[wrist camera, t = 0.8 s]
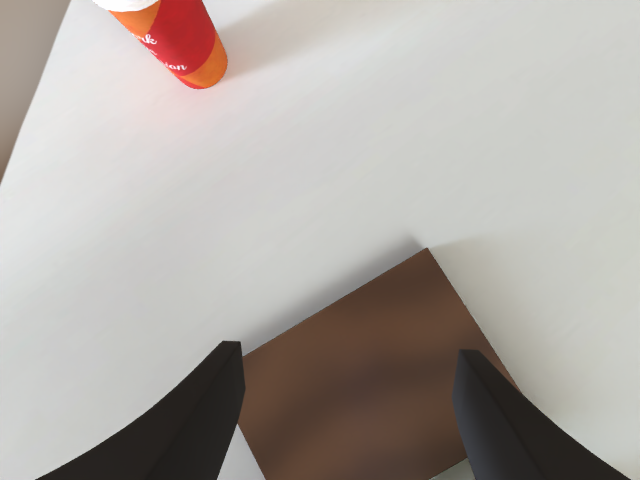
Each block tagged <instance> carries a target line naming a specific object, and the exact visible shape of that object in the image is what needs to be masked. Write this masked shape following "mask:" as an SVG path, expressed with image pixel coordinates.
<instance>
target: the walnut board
mask: <svg viewBox="0 0 640 480" xmlns="http://www.w3.org/2000/svg"><path fill="white" fill-rule="evenodd" d="M459 349H473V350H479V351H480V352H481V353H482V354H483V355H484V356H485V357H486V358H487V359H488V360H489V361H490V362H491V363H492V364H493V365H494V366H495V367H496V368H497V369H498V370H499V371H500V372H501V373H502V374H503V376H504V377H505V378H506V379H507V380H508V381H509V382H510V383H511V384H512V385H513V386H514V387H515V388H516V389H517V390H518V391H519V392H521V391H520V390H519V388H518V387H517V385H516V384H515V382H514V380H513V379H512V377H511V376H510V374H509V373H508V371H507V370H506V368H505V367H504V365H503V364H502V362H501V360H500V359H499V357H498V356H497V354H496V353H495V351H494V350H493V348H492V347H491V345H490V343H489V342H488V340H487V339H486V337H485V336H484V334H483V333H482V331H481V330H480V328H479V326H478V325H477V323H476V322H475V320H474V319H473V317H472V316H471V314H470V313H469V311H468V309H467V308H466V306H465V305H464V303H463V302H462V300H461V299H460V297H459V296H458V294H457V293H456V291H455V289H454V288H453V286H452V285H451V283H450V282H449V280H448V279H447V277H446V276H445V274H444V272H443V271H442V269H441V268H440V266H439V265H438V263H437V262H436V260H435V259H434V257H433V255H432V254H431V252H430V251H429V249H428V248H425V249H424V250H422V251H420V252H419V253H417V254H415V255H414V256H412V257H410V258H409V259H407V260H405V261H404V262H402V263H400V264H399V265H397V266H395V267H393V268H392V269H390V270H388V271H387V272H385V273H383V274H382V275H380V276H378V277H377V278H375V279H373V280H372V281H370V282H368V283H367V284H365V285H363V286H362V287H360V288H358V289H356V290H355V291H353V292H351V293H350V294H348V295H346V296H345V297H343V298H341V299H340V300H338V301H336V302H335V303H333V304H331V305H330V306H328V307H326V308H325V309H323V310H321V311H319V312H318V313H316V314H314V315H313V316H311V317H309V318H308V319H306V320H304V321H303V322H301V323H299V324H298V325H296V326H294V327H293V328H291V329H289V330H287V331H286V332H284V333H282V334H281V335H279V336H277V337H276V338H274V339H272V340H271V341H269V342H267V343H266V344H264V345H262V346H261V347H259V348H257V349H256V350H254V351H252V352H250V353H249V354H247V355H245V356H244V357H242V360H243V368H244V377H245V386H246V390H245V394H244V399H243V403H242V408H241V412H240V416H239V419H238V422H237V423H238V425H239V427H240V429H241V431H242V433H243V435H244V437H245V439H246V441H247V443H248V445H249V447H250V449H251V451H252V453H253V455H254V457H255V459H256V461H257V463H258V465H259V467H260V469H261V471H262V473H263V475H264V477H265V479H266V480H429V479H431V478H433V477H434V476H436V475H438V474H440V473H441V472H443V471H445V470H446V469H448V468H450V467H452V466H453V465H455V464H457V463H459V462H460V461H462V460H464V459H466V458H467V457H468V456H467V453H466V450H465V447H464V444H463V441H462V438H461V435H460V432H459V429H458V425H457V421H456V417H455V412H454V407H453V402H452V391H453V385H454V379H455V372H456V366H457V360H458V353H459Z"/></svg>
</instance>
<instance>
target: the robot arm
mask: <svg viewBox="0 0 640 480" xmlns="http://www.w3.org/2000/svg"><path fill="white" fill-rule="evenodd" d="M245 390H246V386H245V377H244V368H243V360H242V351H241V342H240V341H222V342H221V343H220V344H219V345H218V346H217V347H216V348H215V349H214V350H213V351H212V352H211V353H210V354H209V355H208V356H207V357H206V358H205V359H204V360H203V361H202V362H201V363H200V364H199V365H198V366H197V367H196V368H195V369H194V370H193V371H192V372H191V373H190V374H189V375H188V376H187V377H186V378H185V379H184V380H182V381H181V382H180V383H179V384H178V385H177V386H176V387H175V388H174V389H173V390H171V391H170V392H169V393H168V394H167V395H166V396H165V397H163V398H162V399H161V400H160V401H159V402H158V403H157V404H155V405H154V406H153V407H152V408H150V409H149V410H148V411H147V412H145V413H144V414H143V415H141V416H140V417H139V418H137V419H136V420H135V421H133V422H132V423H131V424H129V425H128V426H126V427H125V428H123V429H122V430H120V431H119V432H117V433H116V434H114V435H113V436H111V437H110V438H108V439H107V440H105V441H103V442H102V443H100V444H99V445H97V446H96V447H94V448H92V449H91V450H89V451H87V452H86V453H84V454H82V455H81V456H79V457H77V458H75V459H74V460H72V461H70V462H68V463H66V464H65V465H63V466H61V467H59V468H57V469H55V470H53V471H52V472H50V473H48V474H46V475H44V476H42V477H40V478H38V479H35V480H217V478H218V475H219V472H220V469H221V467H222V464H223V461H224V458H225V456H226V453H227V450H228V447H229V445H230V442H231V439H232V436H233V434H234V431H235V428H236V425H237V422H238V419H239V416H240V412H241V408H242V403H243V399H244V394H245ZM452 402H453V407H454V412H455V417H456V421H457V425H458V429H459V432H460V435H461V438H462V441H463V444H464V447H465V450H466V453H467V456H468V459H469V462H470V465H471V468H472V470H473V473H474V476H475V479H476V480H631V479H629V478H628V477H626V476H625V475H623V474H622V473H620V472H619V471H617V470H616V469H614V468H613V467H611V466H610V465H608V464H607V463H606V462H604V461H603V460H601V459H600V458H598V457H597V456H596V455H594V454H593V453H591V452H590V451H589V450H587V449H586V448H585V447H584V446H582V445H581V444H580V443H578V442H577V441H576V440H575V439H573V438H572V437H571V436H569V435H568V434H567V433H565V432H564V431H563V430H562V429H561V428H559V427H558V426H557V425H556V424H555V423H553V422H552V421H551V420H550V419H549V418H548V417H547V416H545V415H544V414H543V413H542V412H541V411H540V410H539V409H538V408H536V407H535V406H534V405H533V404H532V403H531V402H530V401H529V400H528V399H527V398H526V397H525V396H524V395H523V394H522V393H521V392H519V391H518V390H517V389H516V388H515V387H514V386H513V385H512V384H511V383H510V382H509V381H508V380H507V379H506V378H505V377H504V376H503V374H502V373H501V372H500V371H499V370H498V369H497V368H496V367H495V366H494V365H493V364H492V363H491V362H490V361H489V360H488V359H487V358H486V357H485V356H484V355H483V354H482V353H481V352H480V351H479V350H473V349H459V353H458V360H457V366H456V372H455V379H454V385H453V391H452Z"/></svg>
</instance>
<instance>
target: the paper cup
mask: <svg viewBox="0 0 640 480" xmlns="http://www.w3.org/2000/svg"><path fill="white" fill-rule="evenodd" d="M92 1H93V2H94V3H96V4H97V5H99V6H100V7H103V8H105V9H107V10H108V11H109V12H110V13H111V14H112V15H113V16H115V17H116V18H117V19H118V20H119V21H120V22H121V23H122V24H123V25H124V26H125V27H126V28H127V29H128V30H129V31H130V32H131V33H132V34H133V35H134V36H135V37H136V38H137V39H138V40H139V41H140V42H141V43H142V44H143V45H144V46H145V47H146V48H147V49H148V50H149V51H150V52H151V53H152V54H153V55H154V56H155V57H156V58H157V59H158V60H159V61H160V62H161V63H162V64H163V65H165V66H166V67H167V68H168V69H169V70H170V71H171V72H172V73H173V74H174V75H175V76H176V77H177V78H178V79H179V80H180V81H182V82H183V83H184V84H185V85H187V86H189V87H191V88H194V89H205V88H208V87H211V86H213V85H214V84H216V83H217V82H218V81H219V80H220V79H221V78H222V77H223V75H224V73H225V71H226V69H227V55H226V52H225V49H224V47H223V45H222V43H221V40H220V38H219V36H218V34H217V32H216V30H215V27H214V25H213V23H212V21H211V19H210V17H209V15H208V13H207V10H206V8H205V6H204V4H203V2H202V0H92Z"/></svg>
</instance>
